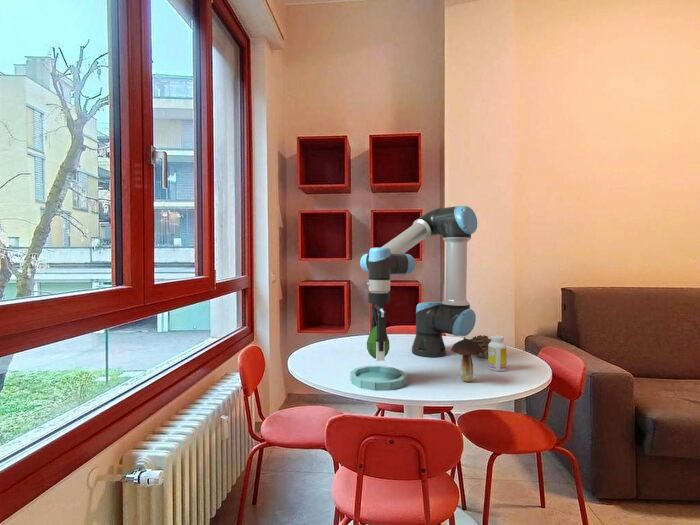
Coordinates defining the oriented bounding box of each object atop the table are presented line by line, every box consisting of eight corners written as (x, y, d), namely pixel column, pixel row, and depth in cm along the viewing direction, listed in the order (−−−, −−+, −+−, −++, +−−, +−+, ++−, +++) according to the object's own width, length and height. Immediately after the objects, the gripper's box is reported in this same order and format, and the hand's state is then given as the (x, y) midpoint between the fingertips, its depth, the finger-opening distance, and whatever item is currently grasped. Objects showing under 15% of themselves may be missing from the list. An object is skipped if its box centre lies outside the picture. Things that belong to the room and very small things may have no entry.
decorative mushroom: (464, 388, 128) (465, 343, 128) (443, 378, 138) (444, 336, 138) (489, 384, 133) (490, 340, 132) (468, 375, 143) (468, 334, 142)
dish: (398, 371, 145) (398, 365, 145) (411, 389, 127) (411, 381, 126) (347, 373, 143) (348, 366, 143) (354, 391, 124) (354, 383, 124)
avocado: (387, 356, 139) (388, 323, 138) (390, 362, 131) (391, 327, 131) (365, 356, 138) (366, 322, 138) (367, 362, 131) (367, 326, 130)
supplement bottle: (505, 367, 152) (506, 335, 152) (506, 372, 146) (507, 338, 146) (487, 366, 155) (488, 334, 154) (487, 370, 148) (488, 337, 148)
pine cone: (501, 360, 162) (502, 337, 162) (482, 362, 159) (483, 338, 159) (469, 348, 183) (470, 327, 183) (452, 350, 180) (452, 328, 180)
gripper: (364, 289, 144) (363, 350, 144) (373, 294, 124) (372, 365, 124) (383, 289, 145) (382, 349, 145) (396, 295, 124) (395, 365, 125)
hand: (377, 357), depth 135 cm, fingers closed on avocado, 8 cm apart
